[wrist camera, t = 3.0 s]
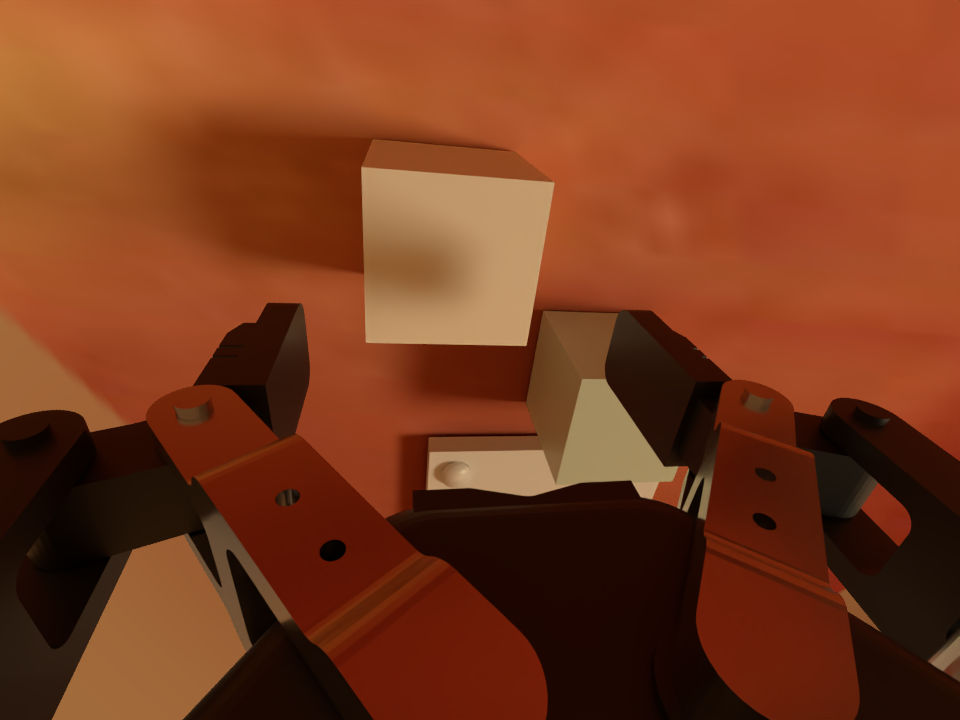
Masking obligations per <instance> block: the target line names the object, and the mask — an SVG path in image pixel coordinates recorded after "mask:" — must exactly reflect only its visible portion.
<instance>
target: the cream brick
mask: <svg viewBox="0 0 960 720" xmlns="http://www.w3.org/2000/svg"><path fill="white" fill-rule="evenodd" d="M361 173H362V211H363V250H364V288H365V326H366V343H404V344H455V345H505V346H527V341H528V335H529V329H530V323H531V317H532V312H533V306H534V300H535V294H536V288H537V282H538V276H539V271H540V265H541V259H542V253H543V247H544V241H545V236H546V230H547V224H548V218H549V212H550V206H551V200H552V195H553V189H554V183H555V182H553V181H552V180H551V179H550V178H548V177H547V176H546V175H544V174H543V173H542V172H540V171H539V170H538V169H537V168H535V167H534V166H533V165H531V164H530V163H529V162H528V161H526V160H525V159H524V158H522V157H521V156H520V155H519V154H517V153H516V152H513V151H502V150H490V149H479V148H468V147H457V146H446V145H434V144H423V143H412V142H401V141H390V140H378V139H373V140H372V142H371V145H370V147H369V150H368V152H367V154H366V157H365V159H364V162H363V164H362V167H361Z"/></svg>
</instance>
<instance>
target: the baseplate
mask: <svg viewBox="0 0 960 720" xmlns="http://www.w3.org/2000/svg"><path fill="white" fill-rule="evenodd" d="M658 483H659V482H634V483H633V485H634V486H635V488H636V490H637V492H638V493H639V495H640V497H643V498H648V499H652V498H653V495H654V493H655V490H656V488H657V485H658ZM571 485H574V484H571ZM567 486H570V485H556V484H555V482H554V479H553V476H552V474H551V471H550V468H549V465H548V463H547V460H546V457H545V454H544V452H543V449H542V446H541V444H540V441H539V438H538V436H485V437H429V441H428V457H427V474H426V490H437V489H458V488H474V489H480V490H487V491H494V492H501V493H508V494H514V495H521V496H534V495H538V494H542V493H545V492H549V491H552V490H556V489H560V488H563V487H567Z"/></svg>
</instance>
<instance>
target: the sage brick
mask: <svg viewBox="0 0 960 720" xmlns="http://www.w3.org/2000/svg"><path fill="white" fill-rule="evenodd" d="M618 314H619V313H593V312H562V311H543V314H542V319H541V325H540V330H539V336H538V341H537V346H536V352H535V357H534V363H533V368H532V374H531V379H530V384H529V390H528V395H527V401H526V405H527V408H528V411H529V413H530V416H531V419H532V422H533V424H534V427H535V430H536V433H537V435H538V438H539V441H540V444H541V446H542V449H543V452H544V454H545V457H546V460H547V463H548V465H549V468H550V471H551V474H552V476H553V479H554V482H555V484H556V485H571V484H578V483H584V482H605V481H626V480H631V481H632V483H634V482H665V481H673V478H674V476H675V473H676V471H677V469H678V466H676V467H664V466H663V464H662V463H661V461H660V460H659V458H658V457H657V455H656V454H655V453H654V451H653V450H652V448H651V447H650V445H649V444H648V442H647V441H646V439H645V438H644V436H643V435H642V433H641V432H640V431H639V429H638V428H637V426H636V425H635V423H634V422H633V420H632V419H631V417H630V416H629V414H628V413H627V411H626V410H625V409H624V407H623V406H622V404H621V403H620V401H619V400H618V398H617V397H616V395H615V394H614V392H613V391H612V389H611V388H610V387H609V385H608V383H607V381H606V377H605V362H606V357H607V353H608V349H609V346H610V342H611V338H612V334H613V330H614V326H615V322H616V318H617V316H618Z"/></svg>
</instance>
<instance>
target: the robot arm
mask: <svg viewBox="0 0 960 720" xmlns="http://www.w3.org/2000/svg"><path fill="white" fill-rule="evenodd" d="M706 357H707V356H705V355H704V354H703V353H702V352H701V351H700V350H697V347H696V346H695V345H693V344H692V343H691V342H690V341H689V340H688V339H687V338H686V337H684V336H682V335H680V334H678V333H676V332H674V331H673V330H672V329H671V328H670V327H668V326H667V325H666V324H665V323H664V322H663V321H662V320H661V319H660V318H659V317H658V316H657V315H656V314H654V313H653V312H652V311H650V310H622V311H621V312H620V313H619V314H618V316H617V318H616V322H615V326H614V330H613V334H612V338H611V342H610V346H609V349H608V353H607V357H606V362H605V377H606V381H607V383H608V385H609V387H610V388H611V389H612V391H613V392H614V394H615V395H616V397H617V398H618V400H619V401H620V403H621V404H622V406H623V407H624V409H625V410H626V411H627V413H628V414H629V416H630V417H631V419H632V420H633V422H634V423H635V425H636V426H637V428H638V429H639V431H640V432H641V433H642V435H643V436H644V438H645V439H646V441H647V442H648V444H649V445H650V447H651V448H652V450H653V451H654V453H655V454H656V455H657V457H658V458H659V460H660V461H661V463H662V464H663V466H664V467H676V466H688V468H689V469H688V472H687V474H686V476H685V479H684V482H683V486H682V490H681V494H680V498H679V502H678V506H677V508H676V507H674V506H672V505H669V504H666V503H663V502H660V501H656V500H652V499H648V498H643V497H640V495H639V493H638V492H637V490H636V488H635V486H634V485H633V483H632V481H631V480H626V481H605V482H584V483H578V484H574V485H570V486H567V487H563V488H560V489H556V490H552V491H549V492H545V493H542V494H538V495H534V496H521V495H514V494H508V493H501V492H494V491H487V490H480V489H474V488H458V489H437V490H416V491H413V500H412V509H409V510H406V511H402V512H400V513H397V514H394V515H392V516H389V517H387V518H384V517H383V516H382V515H381V514H380V513H379V512H378V511H376V510H375V509H374V508H373V507H372V506H371V505H370V504H369V503H368V502H367V501H366V500H365V499H364V498H363V497H362V496H361V495H360V494H359V493H358V492H357V491H356V490H355V489H354V488H353V487H352V486H351V485H350V484H349V483H348V482H347V481H346V480H345V479H344V478H343V477H342V476H341V475H340V474H339V473H338V472H337V471H336V470H335V469H334V468H333V467H332V466H331V465H330V464H329V463H328V462H327V461H326V460H325V459H324V458H323V457H322V456H321V455H320V454H319V453H318V452H317V451H316V450H315V449H314V448H313V447H312V446H311V445H310V444H309V443H308V442H307V441H306V440H305V439H304V438H302V437H301V436H300V435H298V434H296V433H295V432H296V429H297V425H298V421H299V418H300V414H301V411H302V407H303V404H304V400H305V396H306V393H307V389H308V385H309V377H310V363H309V353H308V343H307V334H306V325H305V316H304V309H303V306H302V304H300V303H267V304H266V306H265V308H264V310H263V312H262V313H261V315H260V317H259V319H258V320H257V322H256V323H243V324H241V325H239V326H238V327H236V328H235V329H233V330H231V331H230V332H228V333H227V334H226V336H225V337H224V339H223V340H222V342H221V343H220V345H219V348H217V350H216V351H215V353H214V354H213V358H211V359H210V360H209V362H208V363H207V365H206V366H205V368H204V370H203V371H202V373H201V374H200V376H199V377H198V379H197V380H196V382H195V383H194V385H193V386H191V387H186V388H182V389H179V390H176V391H173V392H171V393H169V394H167V395H165V396H163V397H161V398H159V399H158V400H157V401H155V402H154V403H153V404H152V405H151V406H150V408H149V409H148V411H147V413H146V421H143V422H139V423H135V424H130V425H125V426H120V427H115V428H110V429H105V430H100V431H95V432H90V431H89V429H88V426H87V424H86V422H85V420H84V418H83V417H82V416H81V415H79V414H77V413H75V412H71V411H65V410H49V411H40V412H34V413H30V414H26V415H22V416H19V417H16V418H13V419H10V420H7V421H4V422H2V423H0V720H52V718H53V716H54V714H55V711H56V709H57V707H58V705H59V703H60V701H61V699H62V697H63V695H64V693H65V691H66V688H67V686H68V684H69V682H70V680H71V678H72V676H73V673H74V672H75V670H76V667H77V665H78V663H79V661H80V659H81V657H82V655H83V653H84V650H85V648H86V646H87V644H88V642H89V640H90V638H91V636H92V634H93V632H94V630H95V628H96V625H97V623H98V621H99V619H100V617H101V615H102V613H103V611H104V609H105V606H106V604H107V602H108V600H109V598H110V596H111V594H112V592H113V590H114V588H115V585H116V583H117V581H118V579H119V577H120V575H121V573H122V571H123V569H124V567H125V564H126V562H127V560H128V558H129V556H130V554H131V552H132V550H133V549H136V548H140V547H143V546H146V545H150V544H153V543H157V542H160V541H163V540H166V539H170V538H174V537H177V536H180V535H184V536H185V538H186V540H187V542H188V543H189V545H190V547H191V548H192V550H193V552H194V553H195V555H196V557H197V559H198V560H199V562H200V564H201V565H202V567H203V569H204V571H205V572H206V574H207V576H208V577H209V579H210V581H211V582H212V584H213V586H214V587H215V589H216V591H217V593H218V594H219V596H220V598H221V599H222V601H223V603H224V605H225V607H226V609H227V611H228V613H229V615H230V617H231V620H232V622H233V625H234V627H235V629H236V632H237V634H238V636H239V638H240V640H241V642H242V644H243V646H244V648H245V650H246V653H245V654H244V656H243V657H241V659H240V660H239V661H238V662H237V663H236V664H235V665H234V666H233V667H232V668H231V669H230V670H229V671H228V672H227V674H226V675H225V676H224V677H223V678H222V679H221V680H220V681H219V682H218V683H217V684H216V685H215V686H214V687H213V688H212V689H211V690H210V691H209V692H208V694H207V695H206V696H205V697H204V698H203V699H202V700H201V701H200V702H199V703H198V704H197V705H196V706H195V707H194V708H193V709H192V710H191V712H190V713H189V714H188V715H187V716H186V717H185V718H184V719H183V720H960V461H958V460H957V459H956V458H954V457H953V456H951V455H950V454H949V453H947V452H946V451H945V450H943V449H942V448H940V447H939V446H938V445H936V444H935V443H934V442H932V441H931V440H929V439H928V438H927V437H925V436H924V435H923V434H921V433H920V432H918V431H917V430H916V429H914V428H913V427H912V426H910V425H909V424H907V423H906V422H905V421H903V420H902V419H901V418H899V417H898V416H896V415H895V414H893V413H891V412H889V411H888V410H885V409H883V408H881V407H879V406H877V405H874V404H871V403H868V402H865V401H861V400H857V399H851V398H838V399H835V400H833V401H832V402H831V404H830V405H829V407H828V409H827V411H826V413H825V414H824V416H823V417H821V416H816V415H810V414H804V413H799V412H794V408H793V405H792V403H791V402H790V401H789V400H788V399H787V398H786V397H785V396H783V395H782V394H781V393H779V392H777V391H776V390H774V389H772V388H769V387H767V386H765V385H762V384H759V383H755V382H751V381H746V380H732V379H731V378H730V377H729V376H727V375H726V374H725V373H724V372H723V371H722V370H721V369H720V368H719V367H718V366H716V365H715V364H714V363H713V362H712V361H711V360H710V359H707V358H706ZM878 483H879V484H880V485H882V486H883V487H884V488H885V489H886V490H887V491H888V492H889V493H890V494H891V495H893V496H894V497H895V498H896V499H897V500H898V501H899V502H900V503H901V504H902V505H903V506H904V507H905V508H906V509H907V511H908V513H909V515H910V518H911V525H912V526H911V531H910V533H909V535H908V536H907V537H906V538H905V540H904V541H903V542H902V544H901V545H900V546H899V547H898V546H897V545H896V544H895V543H894V542H893V541H892V539H891V538H890V537H889V536H888V535H887V534H886V533H885V532H884V531H883V530H882V529H881V528H880V527H879V526H878V525H877V524H876V523H875V522H874V521H873V520H872V519H871V518H870V517H869V516H868V515H867V514H866V513H865V512H864V511H863V510H862V509H861V507H862V505H863V504H864V502H865V501H866V500H867V498H868V497H869V495H870V494H871V492H872V491H873V489H874V488H875V486H876V485H877V484H878ZM827 566H828V567H829V568H830V570H831V571H832V572H833V573H834V575H835V576H836V577H837V578H838V580H839V581H840V582H841V583H842V584H843V586H844V587H845V588H846V589H847V591H848V592H849V593H850V594H851V595H852V597H853V598H854V599H855V600H856V602H857V603H858V604H859V605H860V607H861V608H862V609H863V610H864V612H865V613H866V614H867V615H868V616H869V618H870V619H871V620H872V621H873V623H874V624H875V625H876V626H877V628H878V629H879V630H880V631H881V632H880V631H878V630H876V629H875V628H873V627H872V626H870V625H868V624H867V623H865V622H864V621H862V620H860V619H859V618H857V617H856V616H854V615H852V614H851V613H849V612H848V611H847V607H846V604H845V601H844V599H843V598H842V596H841V595H840V594H838V593H836V592H834V591H833V590H832V588H831V586H830V583H829V576H828V567H827Z"/></svg>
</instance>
